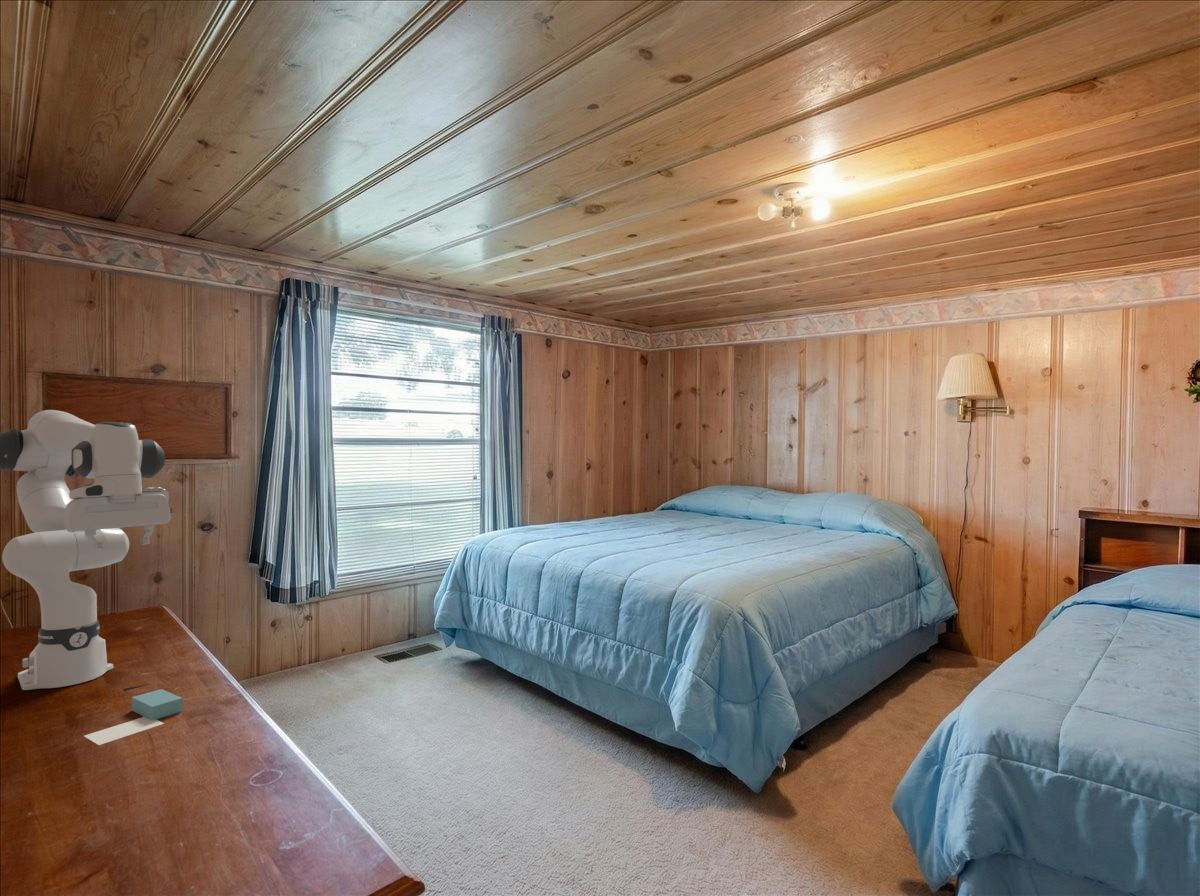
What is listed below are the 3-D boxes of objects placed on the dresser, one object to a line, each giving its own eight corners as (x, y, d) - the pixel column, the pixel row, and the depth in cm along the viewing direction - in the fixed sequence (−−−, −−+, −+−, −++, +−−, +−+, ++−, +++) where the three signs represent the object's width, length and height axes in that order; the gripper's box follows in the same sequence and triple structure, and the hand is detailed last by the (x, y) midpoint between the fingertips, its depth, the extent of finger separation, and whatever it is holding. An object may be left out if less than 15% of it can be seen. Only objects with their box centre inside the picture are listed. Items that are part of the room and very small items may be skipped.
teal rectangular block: (131, 710, 141) (131, 697, 141) (161, 701, 146) (161, 689, 146) (151, 720, 136) (152, 706, 136) (182, 711, 141) (182, 698, 141)
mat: (68, 731, 133) (68, 727, 133) (164, 702, 148) (164, 699, 148) (102, 751, 123) (102, 748, 123) (200, 718, 139) (200, 715, 139)
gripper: (162, 487, 158) (165, 542, 157) (60, 492, 141) (62, 553, 140) (174, 485, 155) (177, 541, 154) (70, 489, 138) (73, 552, 137)
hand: (121, 547), depth 147 cm, fingers open, 8 cm apart
